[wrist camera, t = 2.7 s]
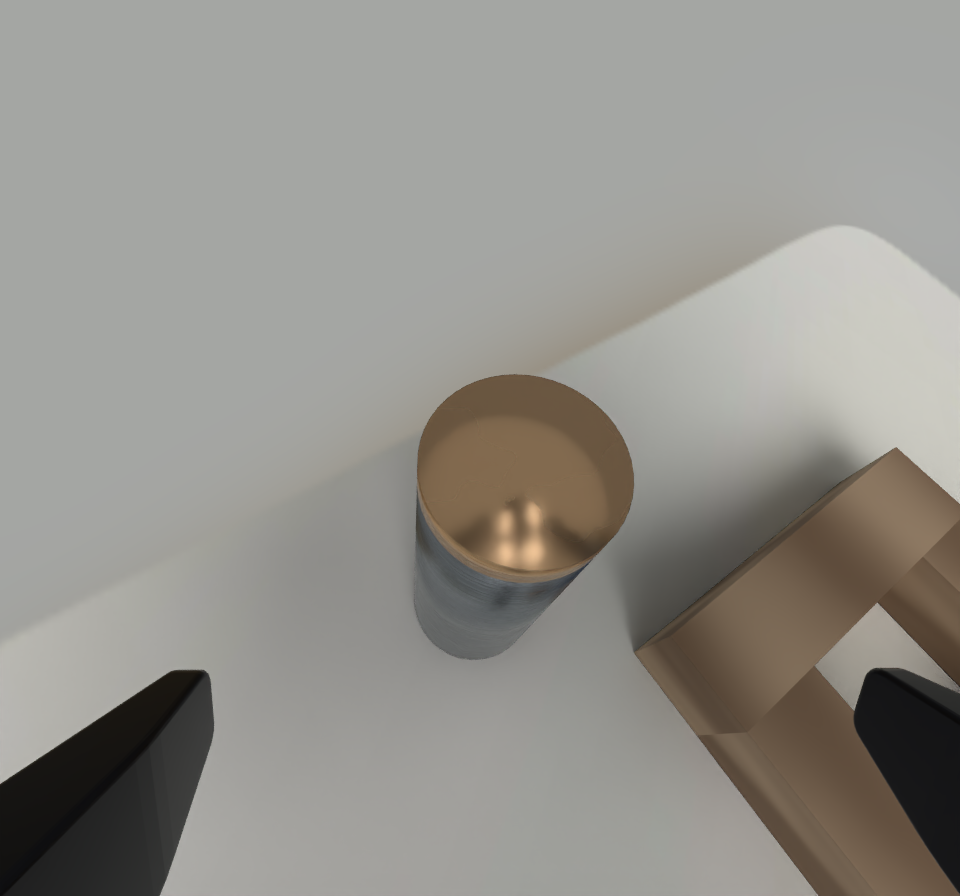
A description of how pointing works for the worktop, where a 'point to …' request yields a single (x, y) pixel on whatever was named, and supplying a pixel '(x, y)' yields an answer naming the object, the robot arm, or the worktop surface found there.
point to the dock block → (801, 687)
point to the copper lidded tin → (511, 507)
